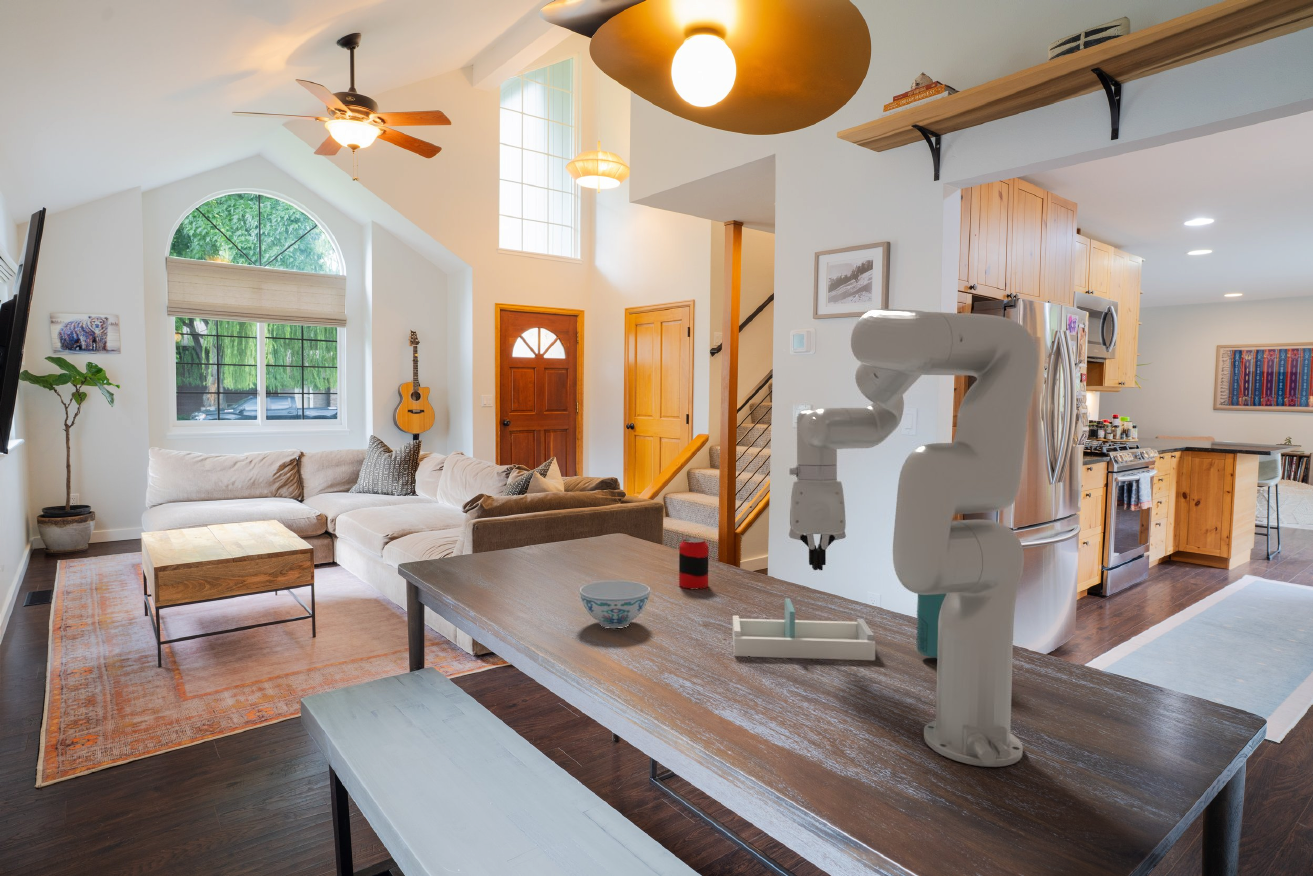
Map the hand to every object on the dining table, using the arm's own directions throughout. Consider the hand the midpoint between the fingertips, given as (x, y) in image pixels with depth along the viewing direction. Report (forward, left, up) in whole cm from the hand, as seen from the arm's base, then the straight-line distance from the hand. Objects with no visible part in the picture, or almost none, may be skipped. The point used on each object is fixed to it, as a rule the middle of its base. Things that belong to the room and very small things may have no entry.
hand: (817, 568), depth 139 cm
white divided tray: (+1, +3, -16) cm, 16 cm away
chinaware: (+12, +41, -16) cm, 46 cm away
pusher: (+1, +5, -15) cm, 16 cm away
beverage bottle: (-4, -21, -16) cm, 27 cm away
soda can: (+46, +25, -16) cm, 54 cm away
